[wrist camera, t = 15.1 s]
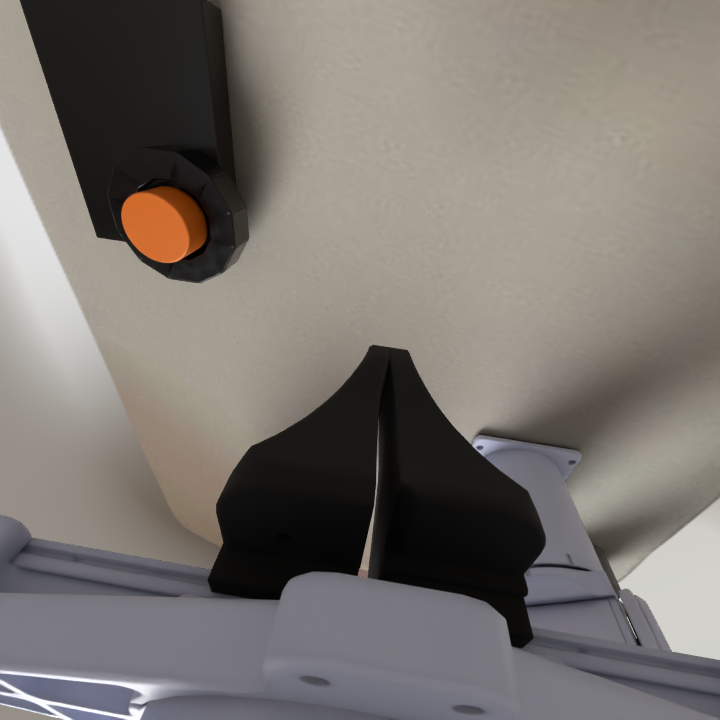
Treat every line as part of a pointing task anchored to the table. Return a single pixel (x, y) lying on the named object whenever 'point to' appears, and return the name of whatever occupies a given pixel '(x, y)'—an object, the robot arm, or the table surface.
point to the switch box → (145, 113)
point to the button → (164, 223)
